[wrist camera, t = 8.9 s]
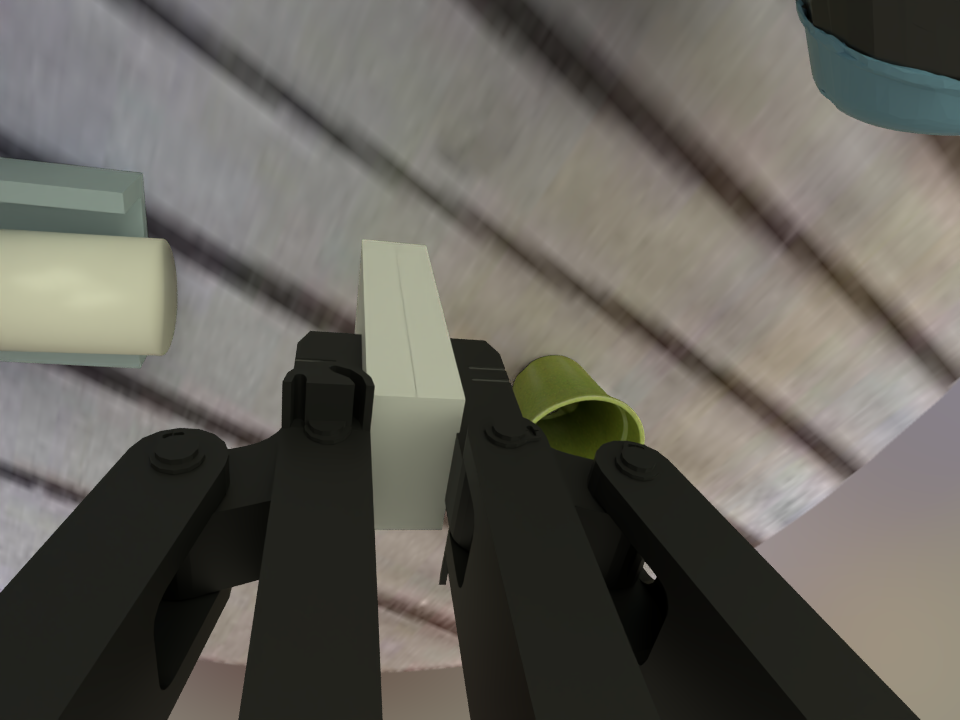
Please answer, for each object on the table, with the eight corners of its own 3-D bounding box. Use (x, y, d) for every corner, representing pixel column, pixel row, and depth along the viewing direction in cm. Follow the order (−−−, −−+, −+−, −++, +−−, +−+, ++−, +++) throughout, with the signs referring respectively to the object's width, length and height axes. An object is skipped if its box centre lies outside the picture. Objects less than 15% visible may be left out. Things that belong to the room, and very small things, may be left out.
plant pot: (488, 343, 50) (510, 408, 43) (607, 327, 52) (649, 388, 44) (493, 440, 55) (515, 513, 48) (603, 424, 56) (640, 493, 49)
